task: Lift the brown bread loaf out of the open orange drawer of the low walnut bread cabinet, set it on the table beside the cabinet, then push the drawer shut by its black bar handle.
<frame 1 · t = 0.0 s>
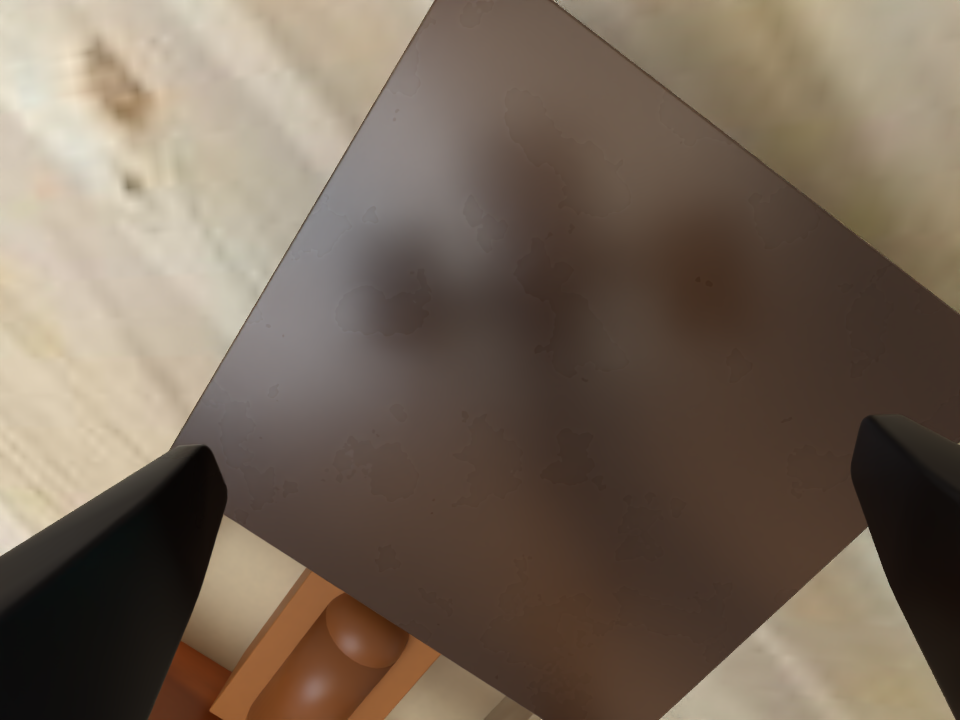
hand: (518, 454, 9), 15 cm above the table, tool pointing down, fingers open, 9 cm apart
loaf: (350, 620, 28), point 1 cm above the table, touching drawer
cabinet: (547, 357, 25), on the table
drawer: (320, 677, 25), point 4 cm above the table, slide at 11.6 cm, touching loaf
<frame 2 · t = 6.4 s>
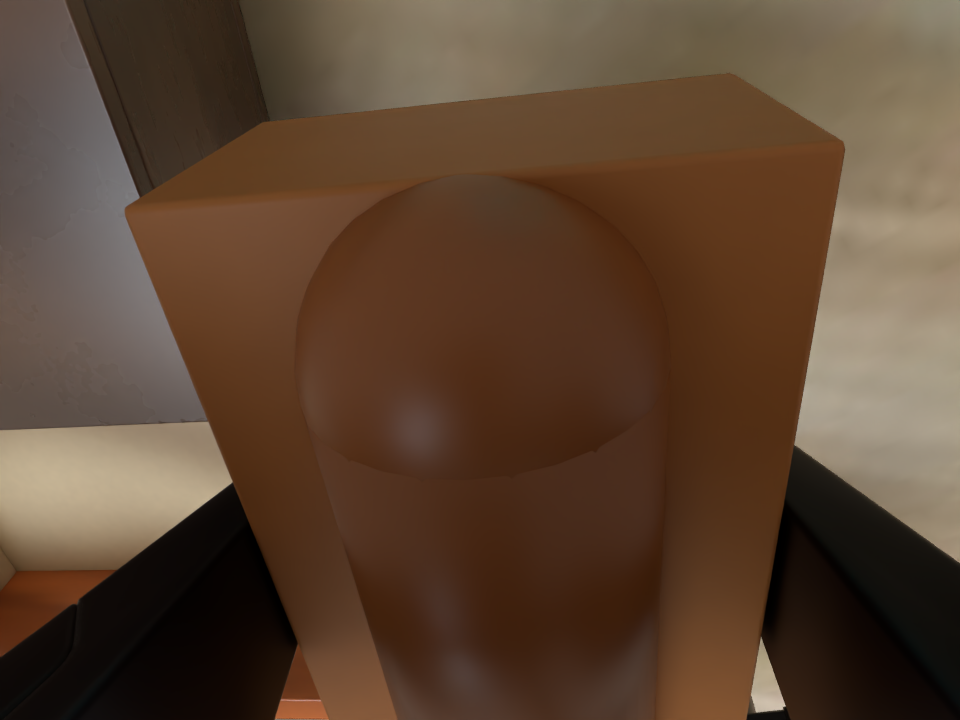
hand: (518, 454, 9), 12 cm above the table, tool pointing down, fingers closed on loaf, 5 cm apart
loaf: (517, 409, 10), point 11 cm above the table, touching gripper
drawer: (92, 528, 23), point 4 cm above the table, slide at 11.6 cm
when the fingers open (1 cm above the table, at t = 10.1 s): loaf stays where it is, on the table.
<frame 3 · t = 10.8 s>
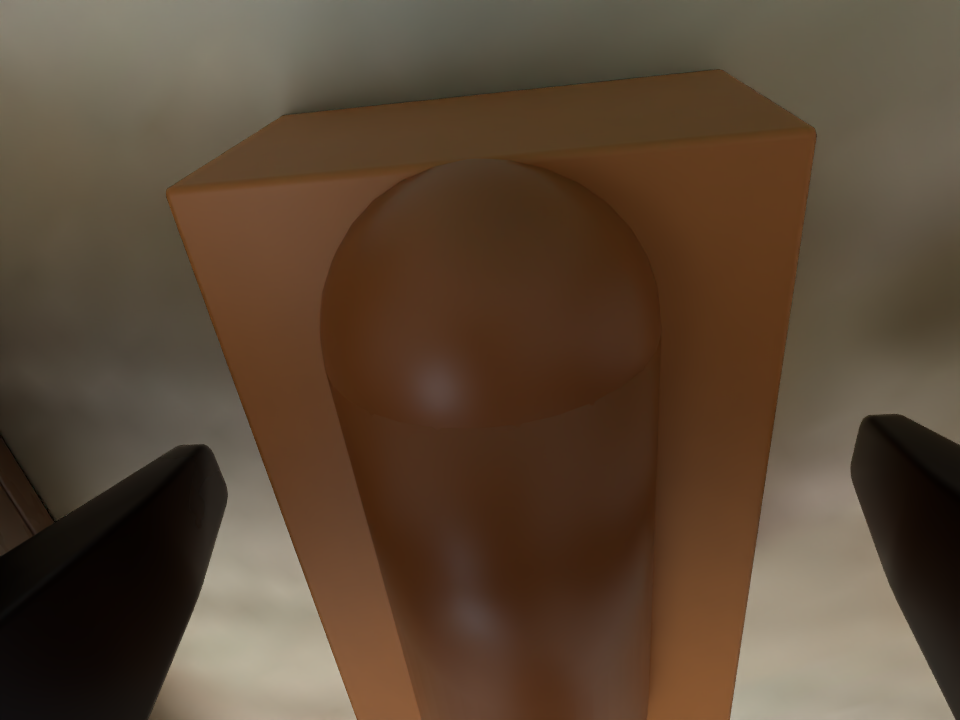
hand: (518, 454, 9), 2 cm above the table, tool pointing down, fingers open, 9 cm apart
loaf: (520, 389, 11), on the table
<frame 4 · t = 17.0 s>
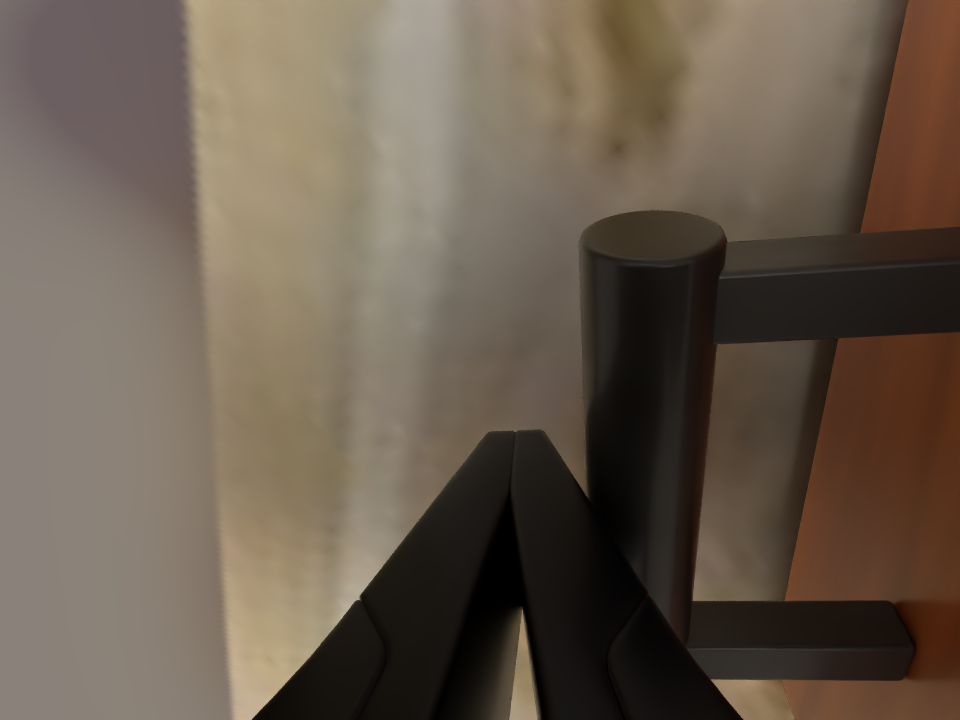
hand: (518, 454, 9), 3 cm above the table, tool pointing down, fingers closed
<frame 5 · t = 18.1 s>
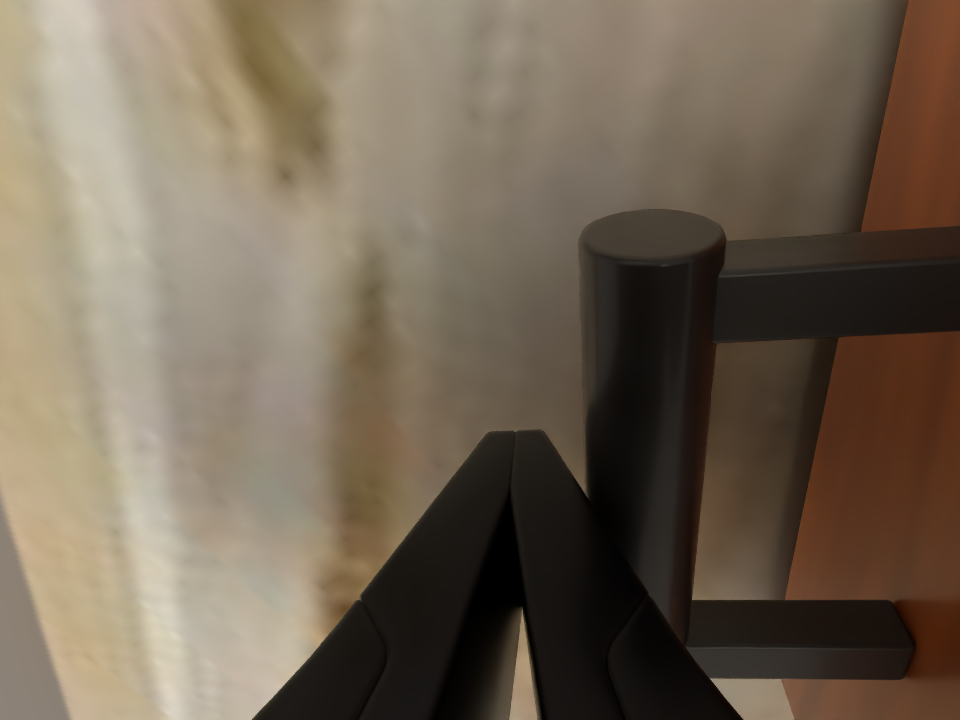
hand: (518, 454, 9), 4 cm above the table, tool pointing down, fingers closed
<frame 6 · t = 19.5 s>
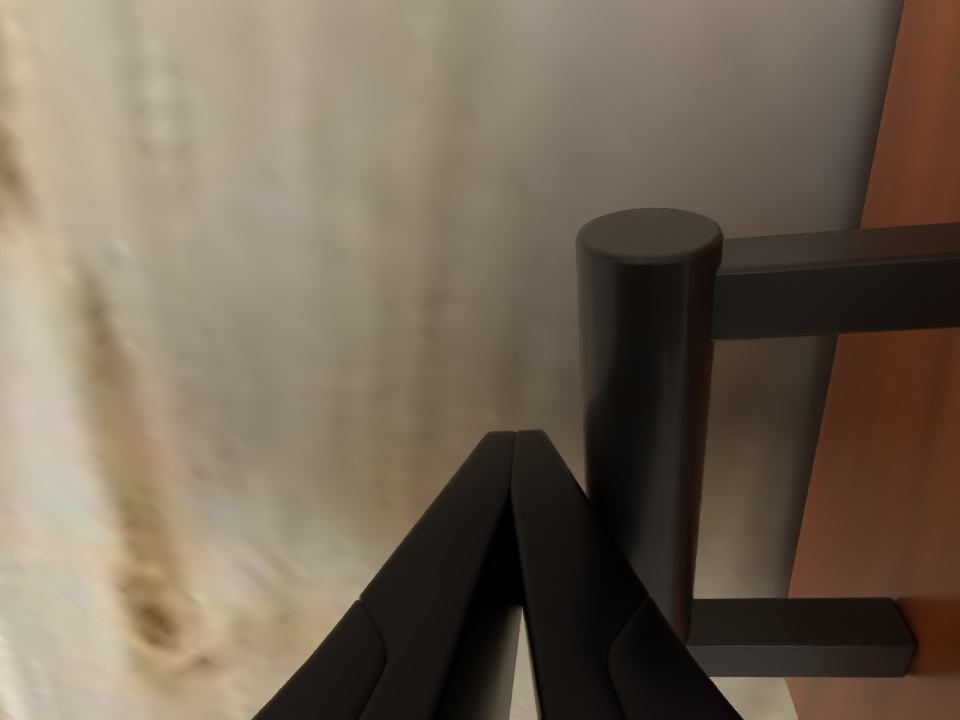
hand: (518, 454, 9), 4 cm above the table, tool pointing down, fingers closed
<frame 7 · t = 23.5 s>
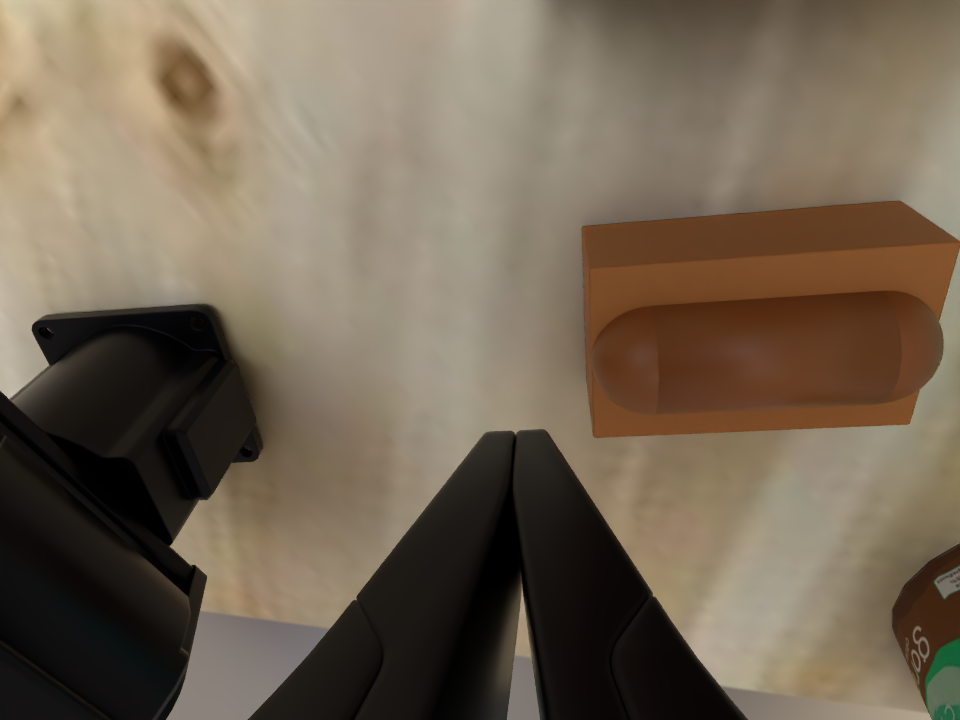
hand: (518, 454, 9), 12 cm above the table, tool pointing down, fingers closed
loaf: (728, 298, 21), on the table
food container: (940, 619, 28), on the table
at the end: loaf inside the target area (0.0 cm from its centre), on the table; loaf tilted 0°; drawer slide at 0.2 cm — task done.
